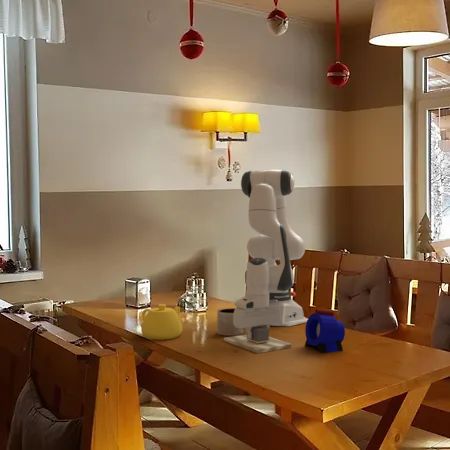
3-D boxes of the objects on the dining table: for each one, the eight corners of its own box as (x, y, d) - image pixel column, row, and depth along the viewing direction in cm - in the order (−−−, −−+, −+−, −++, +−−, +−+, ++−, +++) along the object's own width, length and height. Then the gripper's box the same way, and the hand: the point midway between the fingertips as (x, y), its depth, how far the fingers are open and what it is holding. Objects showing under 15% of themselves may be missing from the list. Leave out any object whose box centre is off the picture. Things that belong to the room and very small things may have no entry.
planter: (249, 333, 265) (249, 310, 264) (231, 338, 257) (231, 314, 256) (229, 329, 272) (229, 306, 271) (211, 333, 264) (211, 310, 264)
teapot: (165, 342, 250) (165, 310, 249) (128, 336, 259) (128, 305, 259) (195, 332, 266) (195, 302, 266) (159, 327, 276) (158, 297, 276)
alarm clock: (302, 346, 245) (303, 306, 244) (330, 342, 249) (330, 304, 248) (320, 353, 233) (320, 312, 232) (348, 350, 238) (349, 310, 237)
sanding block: (257, 338, 251) (257, 325, 250) (268, 341, 245) (268, 328, 244) (247, 339, 248) (247, 326, 248) (258, 343, 242) (258, 330, 242)
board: (257, 335, 261) (257, 332, 261) (291, 347, 242) (291, 344, 242) (223, 340, 252) (223, 337, 252) (257, 353, 234) (257, 350, 234)
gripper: (274, 297, 254) (274, 332, 255) (231, 302, 243) (230, 338, 244) (284, 299, 249) (284, 335, 249) (240, 305, 237) (240, 342, 238)
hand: (257, 337), depth 246 cm, fingers closed on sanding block, 5 cm apart
